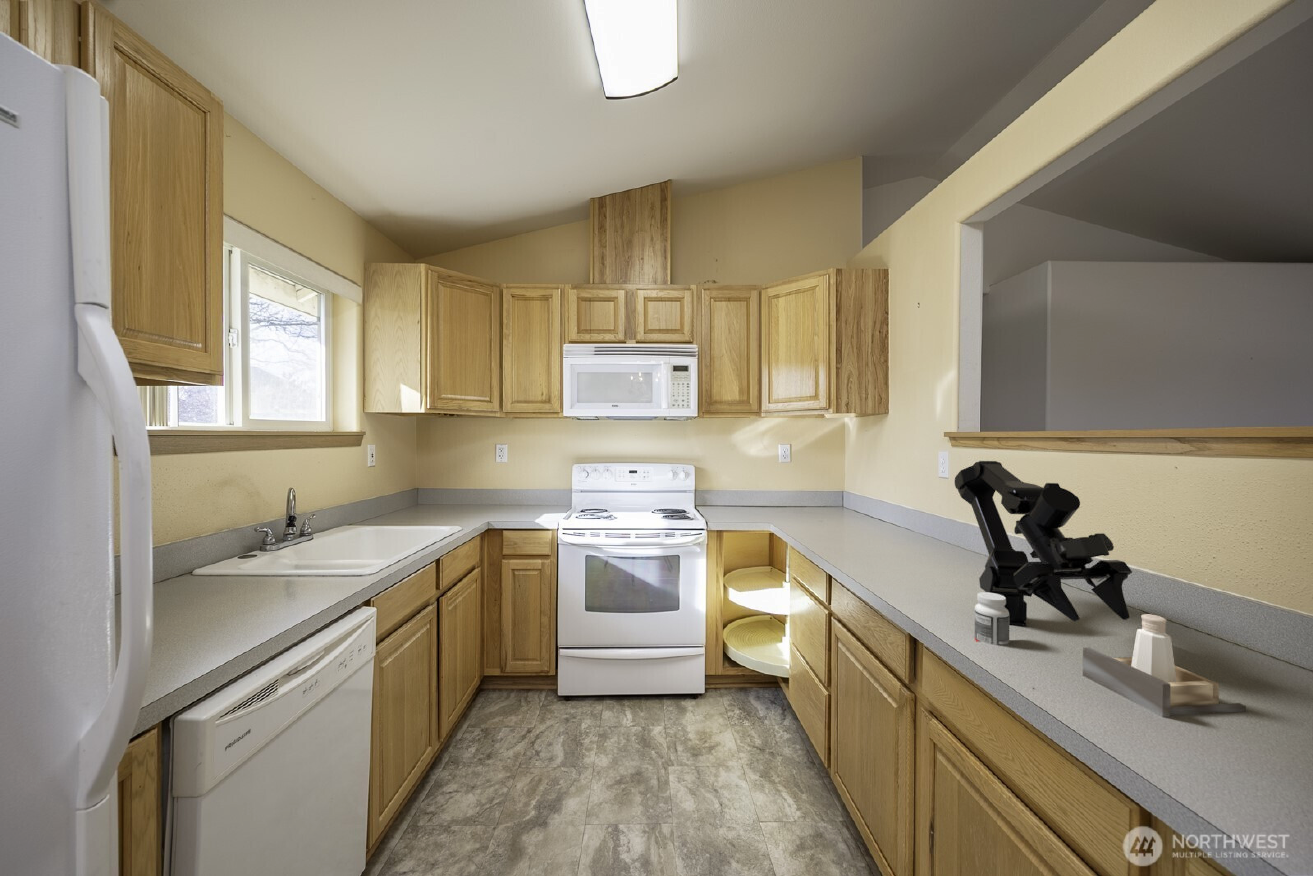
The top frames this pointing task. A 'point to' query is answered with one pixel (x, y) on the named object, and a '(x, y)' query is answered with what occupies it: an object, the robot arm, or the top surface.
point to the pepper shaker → (1154, 649)
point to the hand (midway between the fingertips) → (1102, 619)
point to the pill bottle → (991, 619)
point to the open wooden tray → (1141, 686)
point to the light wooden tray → (1188, 688)
